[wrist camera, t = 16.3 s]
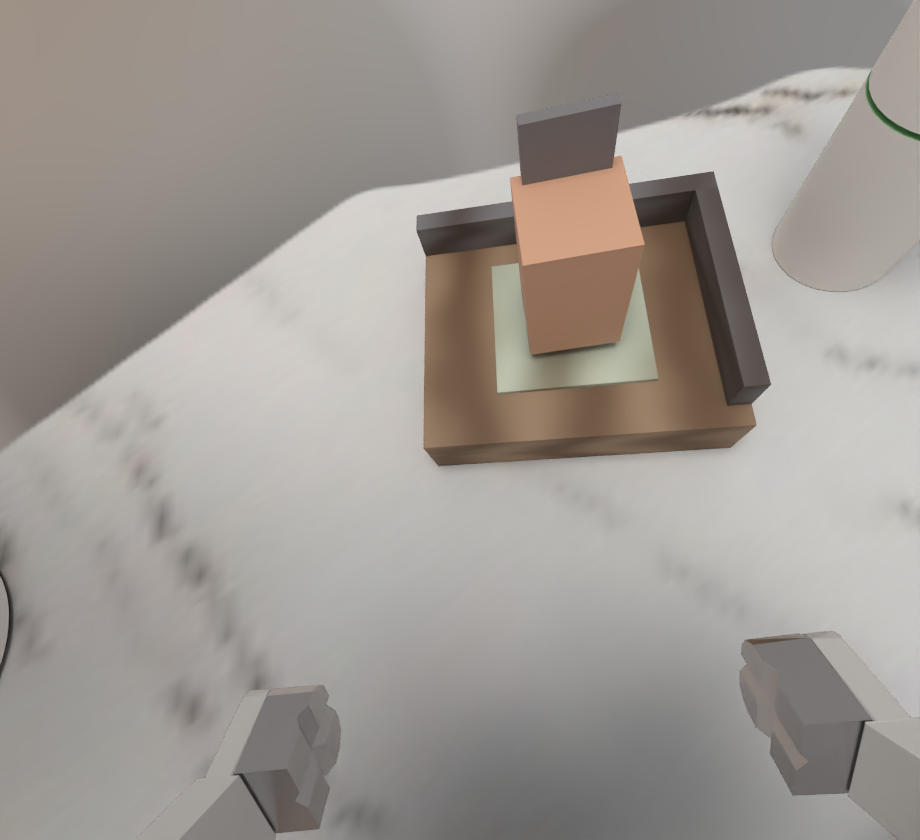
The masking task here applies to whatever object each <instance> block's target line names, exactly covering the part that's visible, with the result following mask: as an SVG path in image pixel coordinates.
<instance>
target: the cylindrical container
mask: <svg viewBox="0 0 920 840" xmlns="http://www.w3.org/2000/svg"><path fill="white" fill-rule="evenodd" d="M919 240H920V0H914V1H913V2H912V4H911V6H910V7H909V9H908V11H907V12H906V14H905V16H904V17H903V19H902V21H901V23H900V24H899V26H898V27H897V29H896V31H895V32H894V34H893V35H892V37H891V39H890V40H889V42H888V44H887V45H886V47H885V49H884V51H883V52H882V54H881V55H880V57H879V59H878V61H877V62H876V64H875V66H874V67H873V69H872V71H871V72H870V74H869V75H868V77H867V79H866V80H865V82H864V84H863V85H862V87H861V89H860V90H859V92H858V94H857V95H856V97H855V99H854V100H853V102H852V104H851V105H850V107H849V109H848V110H847V112H846V114H845V115H844V117H843V119H842V120H841V122H840V124H839V125H838V127H837V128H836V130H835V132H834V133H833V135H832V137H831V138H830V140H829V142H828V143H827V145H826V147H825V148H824V150H823V152H822V153H821V155H820V157H819V158H818V160H817V162H816V163H815V165H814V167H813V168H812V170H811V172H810V173H809V175H808V177H807V178H806V180H805V182H804V183H803V185H802V187H801V188H800V190H799V192H798V193H797V195H796V197H795V198H794V200H793V201H792V203H791V205H790V206H789V208H788V210H787V211H786V213H785V215H784V216H783V218H782V220H781V221H780V223H779V225H778V226H777V228H776V230H775V232H774V234H773V240H772V249H773V254H774V256H775V259H776V261H777V262H778V264H779V265H780V267H781V268H782V269H783V270H784V271H785V272H786V273H787V274H788V275H789V276H791V277H792V278H793V279H795V280H796V281H798V282H800V283H802V284H804V285H806V286H809V287H812V288H816V289H819V290H825V291H840V292H844V291H851V290H857V289H860V288H863V287H866V286H869V285H870V284H872V283H874V282H876V281H877V280H879V279H880V278H881V277H882V276H884V275H885V274H886V273H887V272H888V271H889V270H890V269H891V268H892V267H893V266H894V265H895V264H896V263H897V262H898V261H899V260H900V259H901V258H902V257H903V256H904V255H905V254H906V253H907V252H908V251H909V250H910V249H911V248H912V247H913V246H914V245H915V244H916V243H917V242H918V241H919Z"/></svg>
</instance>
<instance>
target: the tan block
mask: <svg viewBox="0 0 920 840" xmlns="http://www.w3.org/2000/svg"><path fill="white" fill-rule="evenodd" d="M620 109H621V101H620V97H619V93H615V94H611V95H606V96H602V97H597V98H592V99H588V100H583V101H579V102H574V103H570V104H565V105H560V106H556V107H551V108H546V109H542V110H537V111H533V112H528V113H523V114H519V115H516V116H517V130H518V143H519V155H520V156H519V157H520V171H521V176H517V177H512V178H510V182H511V192H512V202H513V212H514V222H515V232H516V243H517V253H518V263H519V273H520V283H521V290H522V299H523V307H524V313H525V319H526V326H527V335H528V342H529V349H530V354H531V355H532V354H539V353H546V352H553V351H560V350H566V349H573V348H580V347H587V346H594V345H600V344H607V343H614V342H620V338H621V334H622V330H623V326H624V322H625V319H626V315H627V311H628V307H629V303H630V299H631V295H632V292H633V288H634V284H635V280H636V276H637V272H638V269H639V265H640V261H641V257H642V253H643V249H644V245H645V244H644V240H643V236H642V232H641V228H640V225H639V221H638V217H637V213H636V209H635V206H634V202H633V198H632V194H631V191H630V187H629V183H628V179H627V175H626V172H625V168H624V164H623V160H622V156H617V157H614V152H615V145H616V138H617V131H618V123H619V116H620Z"/></svg>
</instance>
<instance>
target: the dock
mask: <svg viewBox="0 0 920 840" xmlns="http://www.w3.org/2000/svg"><path fill="white" fill-rule="evenodd" d="M629 187H630V191H631V194H632V198H633V202H634V206H635V209H636V213H637V217H638V221H639V225H640V228H641V232H642V236H643V240H644V244H645V245H644V249H643V253H642V257H641V261H640V265H639V269H638V272H637V276H636V280H635V284H634V288H633V292H632V295H631V299H630V303H629V307H628V311H627V315H626V319H625V322H624V326H623V330H622V334H621V338H620V342H614V343H607V344H600V345H594V346H587V347H580V348H573V349H566V350H560V351H553V352H546V353H539V354H532V355H531V354H530V349H529V342H528V335H527V326H526V319H525V313H524V307H523V299H522V290H521V283H520V273H519V263H518V253H517V243H516V232H515V222H514V212H513V202H505V203H499V204H492V205H485V206H479V207H472V208H465V209H459V210H452V211H445V212H438V213H432V214H425V215H418V216H417V233H418V236H419V239H420V241H421V244H422V247H423V250H424V252H425V255H426V292H425V371H424V449H425V450H426V452H427V453H428V454H429V455H430V456H431V458H432V459H433V460H434V461H435V462H436V463H437V465H438V466H443V465H459V464H475V463H491V462H507V461H523V460H538V459H554V458H570V457H586V456H602V455H618V454H634V453H650V452H666V451H682V450H698V449H714V448H730V447H732V446H733V445H734V444H735V443H736V442H737V441H739V440H740V439H741V438H742V437H743V436H744V435H746V434H747V433H748V432H749V431H750V430H751V429H753V428H754V427H755V426H756V421H755V417H754V413H753V409H752V405H751V404H752V403H753V402H754V401H755V400H756V399H757V398H758V397H759V396H760V395H761V394H762V393H763V392H764V391H765V390H766V389H767V388H768V387H769V386H770V385H771V383H770V379H769V375H768V371H767V368H766V364H765V360H764V357H763V353H762V349H761V346H760V342H759V338H758V334H757V331H756V327H755V323H754V320H753V316H752V312H751V309H750V305H749V301H748V297H747V294H746V290H745V286H744V283H743V279H742V275H741V271H740V268H739V264H738V260H737V257H736V253H735V249H734V246H733V242H732V238H731V234H730V231H729V227H728V223H727V220H726V216H725V212H724V209H723V205H722V201H721V197H720V194H719V190H718V186H717V183H716V179H715V175H714V171H713V172H706V173H700V174H693V175H686V176H679V177H673V178H666V179H659V180H653V181H646V182H639V183H633V184H629Z"/></svg>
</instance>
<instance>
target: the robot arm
mask: <svg viewBox="0 0 920 840" xmlns="http://www.w3.org/2000/svg"><path fill="white" fill-rule="evenodd" d="M8 625H9V607H8V599H7V594H6V590H5V586H4V584H3V581H2V579H1V577H0V664H1V661H2V657H3V654H4V650H5V645H6V641H7V634H8ZM741 655H742V657H743V658H744V660H745V662H746V665H745V666H744V667H743V668H742V669H741V670H740V688H741V692H742V696H743V700H744V703H745V705H746V708H747V710H748V713H749V715H750V717H751V719H752V720H753V722H754V724H755V726H756V728H758V729H759V730H760V731H762V732H763V733H764V734H766V735H767V736H768V737H770V738H771V748H770V754H771V756H772V758H773V760H774V762H775V764H776V765H777V767H778V769H779V771H780V773H781V775H782V777H783V778H784V780H785V782H786V784H787V786H788V788H789V789H790V791H791V793H792V795H815V794H839V793H849V794H848V797H849V798H851V799H852V800H853V801H854V802H855V803H856V804H858V805H859V806H860V807H861V808H862V809H863V810H864V811H866V812H867V813H868V814H869V815H870V816H871V817H873V818H874V819H875V820H876V821H877V822H878V823H880V824H881V825H882V826H883V827H884V828H885V829H886V830H888V831H889V832H890V833H891V834H892V835H893V836H895V837H896V838H897V839H898V840H920V718H911V717H910V716H909V715H908V713H907V712H906V711H905V710H904V709H903V708H902V706H901V705H900V704H899V703H898V702H897V701H896V699H895V698H894V697H893V696H892V695H891V694H890V692H889V691H888V690H887V689H886V688H885V687H884V685H883V684H882V683H881V682H880V681H879V680H878V678H877V677H876V676H875V675H874V674H873V673H872V671H871V670H870V669H869V668H868V667H867V666H866V664H865V663H864V662H863V661H862V660H861V659H860V657H859V656H858V655H857V654H856V653H855V652H854V650H853V649H852V648H851V647H850V646H849V645H848V643H847V642H846V641H845V640H844V639H843V638H842V636H841V635H839V634H838V633H836V632H834V631H824V632H815V633H806V634H791V635H782V636H774V637H765V638H757V639H749V640H745V641H744V642H743V643H742V648H741ZM328 697H329V695H328V693H327V691H326V689H325V687H324V685H315V686H302V687H288V688H274V689H264V690H253V691H249V692H248V693H247V694H246V696H245V697H244V698H243V699H242V701H241V703H240V705H239V707H238V709H237V711H236V713H235V715H234V717H233V720H232V722H231V724H230V726H229V728H228V730H227V732H226V734H225V736H224V738H223V740H222V743H221V745H220V747H219V749H218V751H217V753H216V755H215V757H214V759H213V761H212V763H211V766H210V768H209V770H208V772H207V774H206V776H205V778H197V779H196V780H195V781H194V782H193V783H192V784H191V785H190V786H189V787H188V788H187V789H186V790H185V791H184V792H183V793H182V794H181V795H180V796H179V797H178V798H177V799H176V800H175V801H174V802H173V803H172V804H171V805H170V806H169V807H168V808H167V809H166V810H165V811H164V812H163V813H162V814H161V815H160V816H159V817H158V818H157V819H156V820H155V821H154V822H153V823H152V824H151V825H150V826H149V827H148V828H147V829H146V830H145V831H144V832H142V833H141V834H140V835H139V836H138V837H137V838H136V839H135V840H274V839H275V838H276V834H275V833H283V832H293V831H302V830H312V829H319V828H320V824H321V820H322V816H323V812H324V809H325V805H326V801H327V797H328V793H329V789H330V788H329V785H328V783H327V780H326V777H325V776H326V775H327V774H328V772H329V771H330V770H331V769H332V767H333V766H334V765H335V764H336V761H337V757H338V753H339V748H340V734H341V729H340V723H339V718H338V715H337V713H336V711H335V710H334V709H332V708H331V707H329V706H328V705H326V704H327V701H328Z"/></svg>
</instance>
